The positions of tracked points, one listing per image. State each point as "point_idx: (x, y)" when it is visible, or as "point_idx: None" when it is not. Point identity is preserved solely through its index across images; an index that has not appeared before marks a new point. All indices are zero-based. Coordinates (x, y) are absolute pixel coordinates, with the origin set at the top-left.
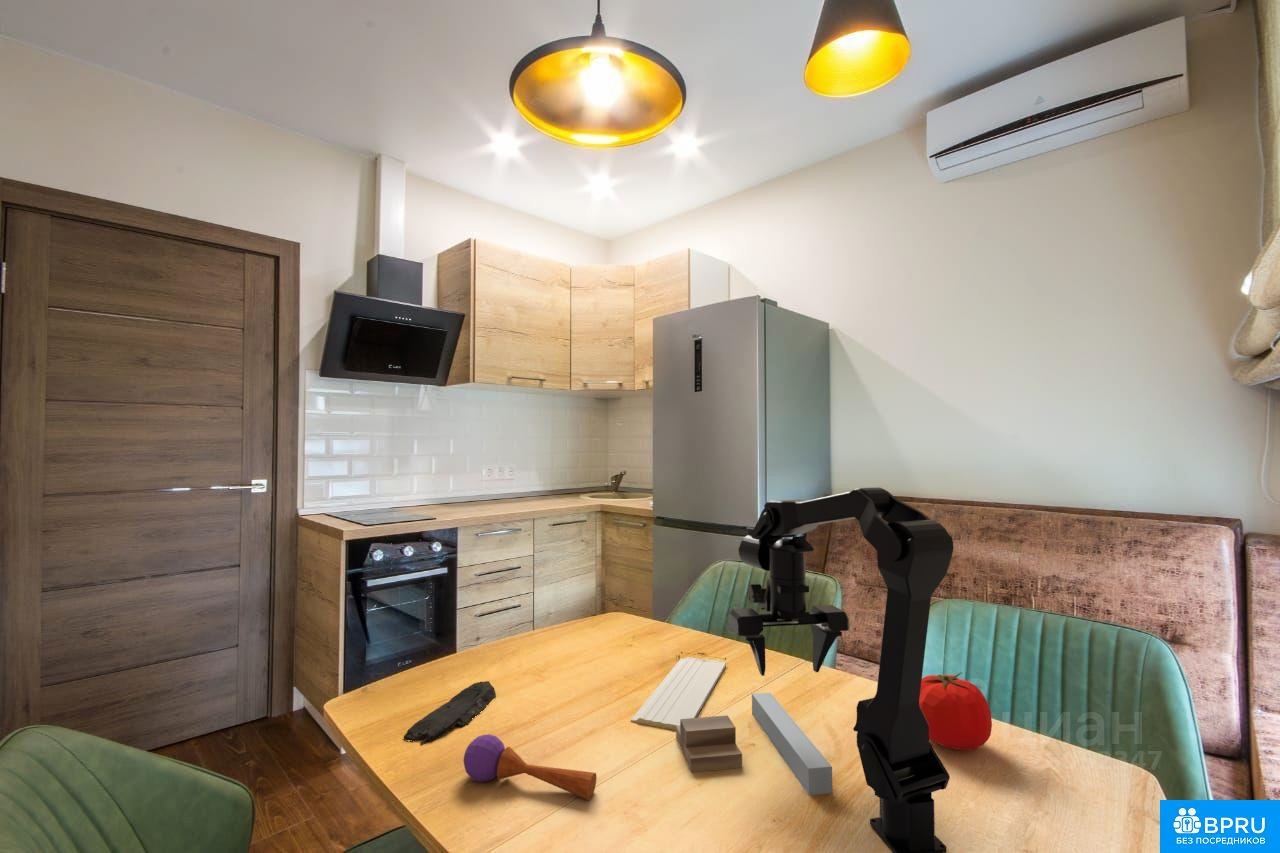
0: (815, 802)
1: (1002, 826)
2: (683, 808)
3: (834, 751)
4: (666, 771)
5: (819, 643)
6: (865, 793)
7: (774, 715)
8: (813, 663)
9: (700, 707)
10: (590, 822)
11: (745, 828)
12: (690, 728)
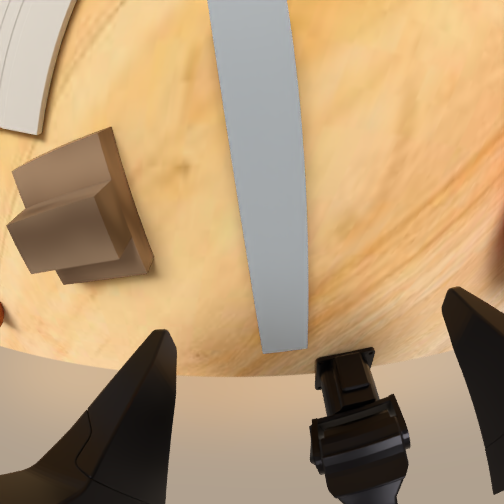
0: None
1: (442, 340)
2: (87, 333)
3: (372, 200)
4: None
5: (502, 429)
6: (350, 312)
7: (251, 148)
8: (464, 312)
9: (66, 16)
10: (22, 337)
11: None
12: (33, 264)
